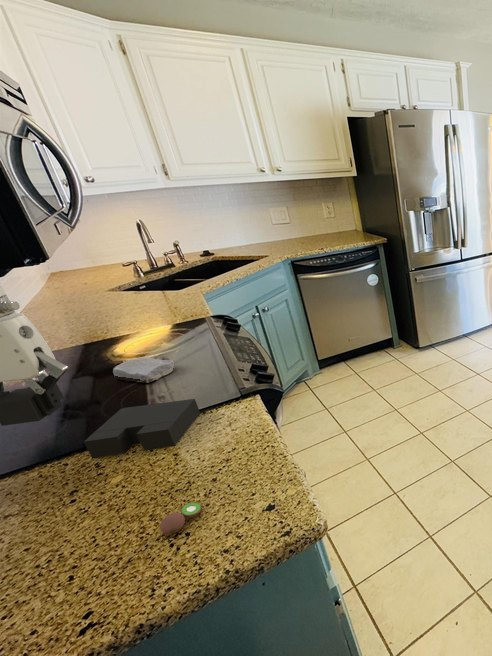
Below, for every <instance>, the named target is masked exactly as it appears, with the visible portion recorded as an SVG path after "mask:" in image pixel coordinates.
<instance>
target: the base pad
mask: <svg viewBox="0 0 492 656" xmlns="http://www.w3.org/2000/svg"><path fill="white" fill-rule="evenodd" d="M200 415H201V412H200V408H199V406H198V404H197V401H196V398H190V399H182V400H174V401H167V402H157V403H152V404H151V403H150V404H144V405H137V406H129V407H122V408H120V409H119V410H118V411H117V412H116V413H114V414H113V415H112V416H111V417H110V418H109V419H107V420H106V421H105V422H104V423H103V424H102V425H100V427H98V428H97V429H96V430H94V432H93V433H91V434H90V435H89V436H88V437H87V438H86V439H84V441H83V443H84V445H85V447H86V450H87V451H88V453H89V454H90V456H91V458H92V459H96V458H103V457H110V456H115V455H116V456H117V455H122V454H123V455H124V454H126V452H128V450H130V449H131V447H132V446H134V445H137V444H140V445H141V447H142V449H143V451H149V450H155V449H162V448H168V447H174V446H176V445H177V444H178V442H179V441H180V440H181V439H182V437H183V436H184V435H185V433H187V431H188V430H189V428H190V427H191V426H192V425H193V423H195V421H196V420H197V419H198V417H199V416H200Z"/></svg>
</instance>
